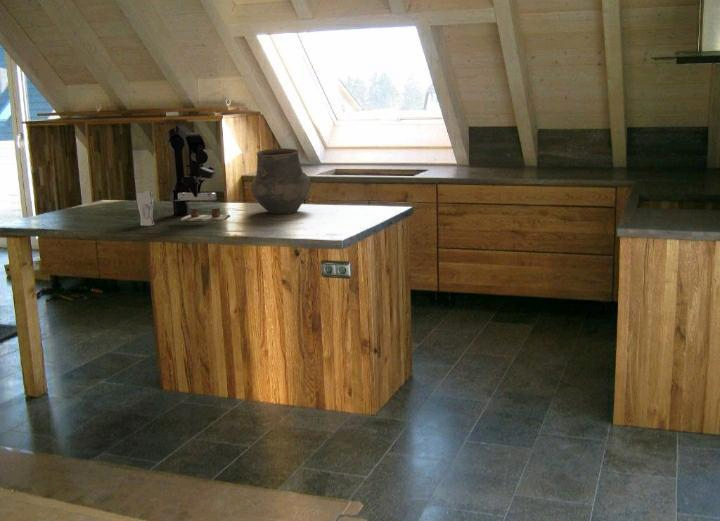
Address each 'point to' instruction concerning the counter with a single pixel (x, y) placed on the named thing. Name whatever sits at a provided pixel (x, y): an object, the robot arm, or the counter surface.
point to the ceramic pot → (280, 181)
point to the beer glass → (145, 207)
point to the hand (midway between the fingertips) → (196, 196)
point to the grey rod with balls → (199, 196)
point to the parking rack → (205, 216)
